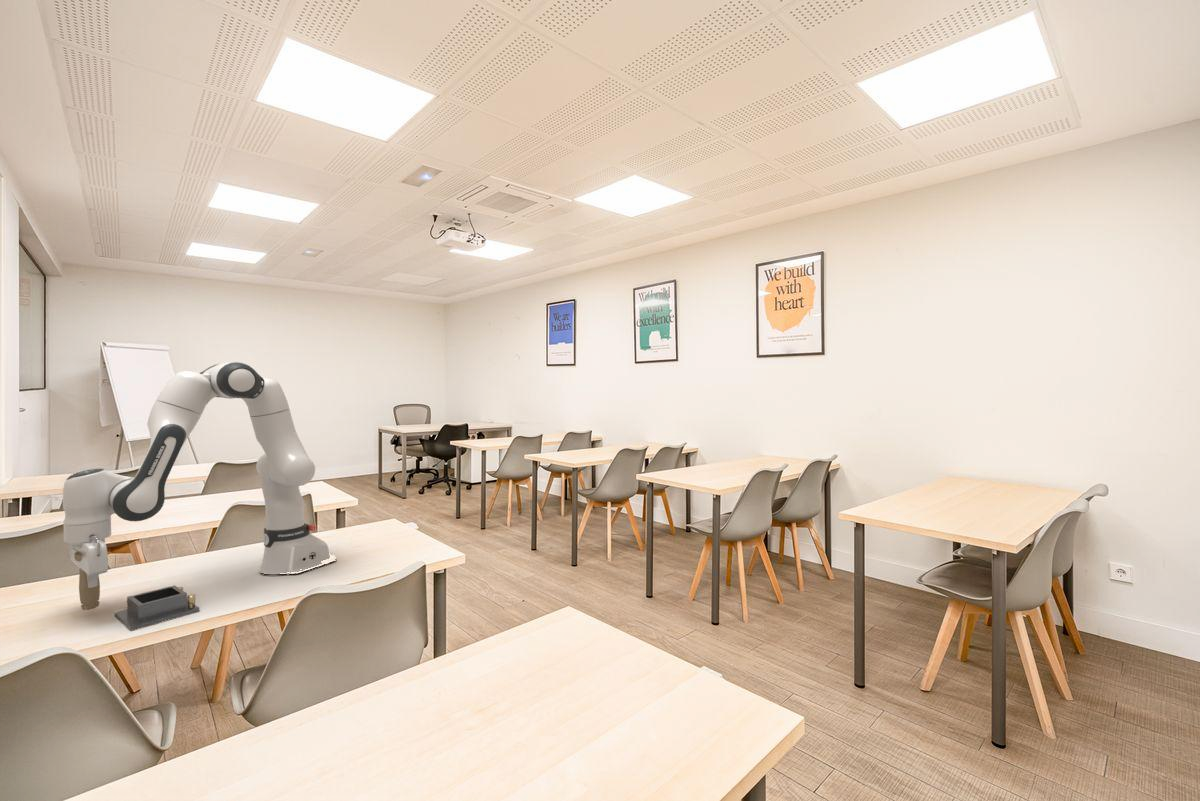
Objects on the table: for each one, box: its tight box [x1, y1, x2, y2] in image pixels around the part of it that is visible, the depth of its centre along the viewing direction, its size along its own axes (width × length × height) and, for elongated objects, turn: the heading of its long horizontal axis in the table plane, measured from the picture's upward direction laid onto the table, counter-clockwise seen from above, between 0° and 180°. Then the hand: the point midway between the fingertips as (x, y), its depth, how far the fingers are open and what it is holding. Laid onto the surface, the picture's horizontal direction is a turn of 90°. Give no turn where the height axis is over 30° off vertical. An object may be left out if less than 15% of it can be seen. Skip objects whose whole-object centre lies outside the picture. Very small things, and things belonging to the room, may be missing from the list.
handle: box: [74, 551, 101, 611], centre depth 135 cm, size 5×6×15 cm
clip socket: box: [114, 585, 200, 632], centre depth 137 cm, size 14×14×5 cm
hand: (89, 584), depth 135 cm, fingers closed on handle, 4 cm apart
